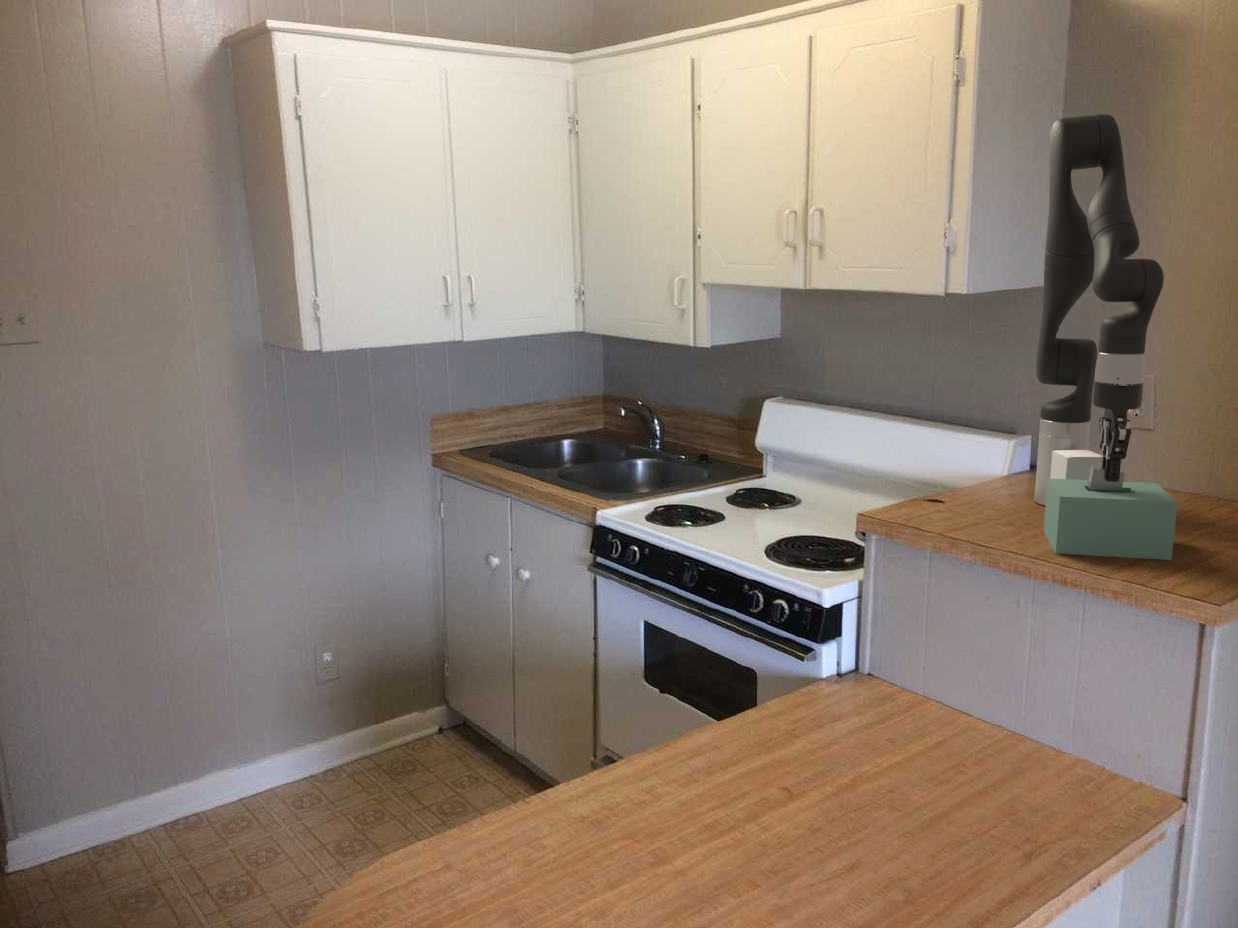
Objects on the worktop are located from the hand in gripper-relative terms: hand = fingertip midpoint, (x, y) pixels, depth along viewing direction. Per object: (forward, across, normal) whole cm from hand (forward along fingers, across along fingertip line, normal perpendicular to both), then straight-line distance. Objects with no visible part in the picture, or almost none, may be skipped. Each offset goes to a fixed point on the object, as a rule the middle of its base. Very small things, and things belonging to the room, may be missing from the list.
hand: (1109, 478), depth 177 cm
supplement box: (+12, -19, -2) cm, 23 cm away
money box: (+12, 0, 0) cm, 12 cm away
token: (+3, 0, -1) cm, 3 cm away
